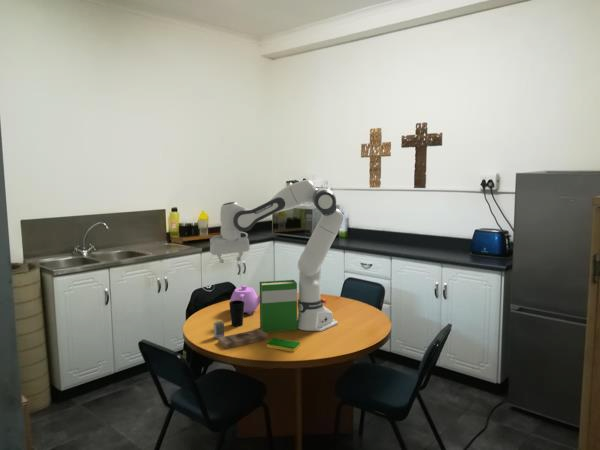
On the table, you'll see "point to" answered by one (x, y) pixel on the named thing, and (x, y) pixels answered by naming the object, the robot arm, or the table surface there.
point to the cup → (237, 312)
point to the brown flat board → (243, 338)
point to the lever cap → (218, 329)
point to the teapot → (246, 298)
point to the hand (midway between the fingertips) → (230, 261)
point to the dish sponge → (283, 344)
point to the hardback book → (278, 305)
